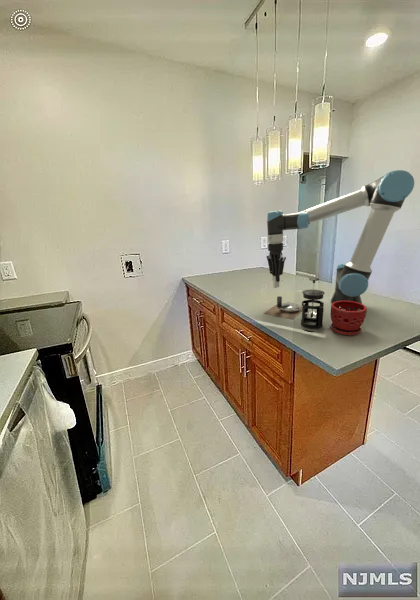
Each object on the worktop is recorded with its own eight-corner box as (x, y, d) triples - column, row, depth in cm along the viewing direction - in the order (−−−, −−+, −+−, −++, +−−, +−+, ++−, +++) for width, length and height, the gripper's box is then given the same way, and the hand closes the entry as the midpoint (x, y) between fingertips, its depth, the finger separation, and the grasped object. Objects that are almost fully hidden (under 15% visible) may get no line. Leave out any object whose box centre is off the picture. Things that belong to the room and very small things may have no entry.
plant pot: (323, 331, 108) (325, 305, 105) (338, 322, 116) (340, 298, 112) (354, 341, 98) (358, 313, 95) (368, 331, 106) (372, 304, 102)
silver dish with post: (291, 305, 138) (291, 291, 135) (303, 310, 129) (304, 295, 126) (271, 309, 134) (271, 295, 131) (283, 315, 125) (283, 300, 122)
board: (306, 310, 133) (306, 307, 133) (292, 322, 119) (293, 319, 119) (278, 305, 143) (278, 303, 142) (262, 316, 129) (262, 313, 129)
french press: (295, 324, 117) (297, 277, 110) (313, 321, 118) (316, 274, 111) (310, 335, 106) (313, 283, 99) (329, 331, 107) (334, 280, 100)
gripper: (261, 243, 131) (263, 286, 138) (277, 244, 120) (278, 291, 127) (273, 241, 134) (274, 283, 141) (290, 242, 122) (290, 288, 129)
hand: (276, 287), depth 134 cm, fingers closed
